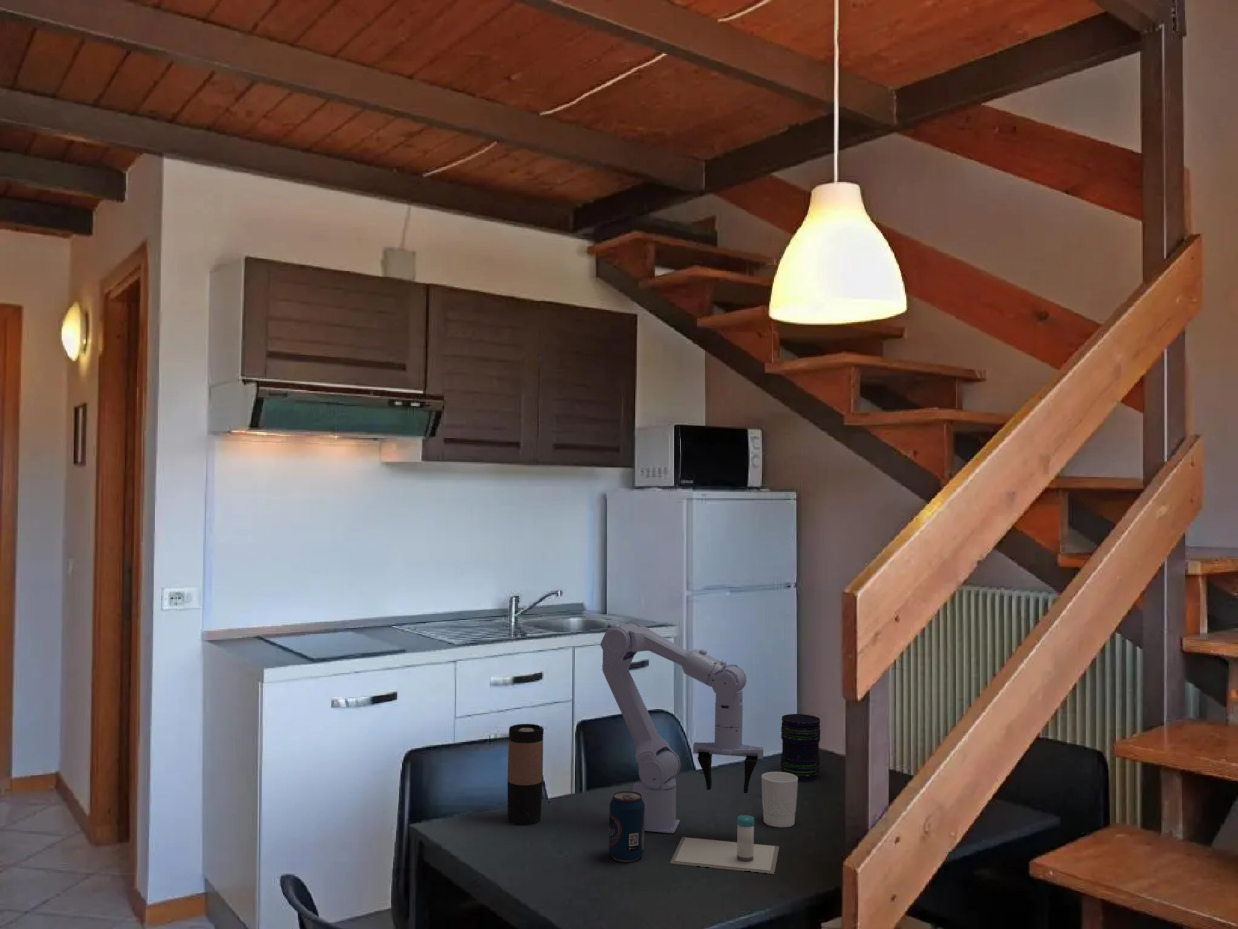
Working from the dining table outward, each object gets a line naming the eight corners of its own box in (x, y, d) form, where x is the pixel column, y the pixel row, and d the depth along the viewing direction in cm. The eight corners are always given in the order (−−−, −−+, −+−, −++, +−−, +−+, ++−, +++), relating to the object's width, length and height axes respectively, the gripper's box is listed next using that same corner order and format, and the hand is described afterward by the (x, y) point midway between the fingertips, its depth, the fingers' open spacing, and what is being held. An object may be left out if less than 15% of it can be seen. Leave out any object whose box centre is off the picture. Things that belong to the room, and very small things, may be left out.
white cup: (796, 830, 214) (797, 783, 214) (759, 827, 216) (760, 780, 216) (797, 818, 222) (798, 773, 222) (761, 815, 223) (762, 770, 224)
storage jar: (780, 781, 250) (781, 721, 250) (780, 770, 260) (781, 713, 260) (820, 784, 248) (821, 723, 249) (819, 773, 258) (820, 715, 258)
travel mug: (500, 823, 215) (502, 729, 215) (516, 812, 222) (518, 722, 222) (531, 828, 212) (533, 733, 212) (547, 817, 219) (549, 726, 220)
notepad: (669, 864, 193) (669, 861, 193) (682, 838, 208) (682, 836, 208) (774, 874, 189) (774, 872, 189) (779, 847, 203) (779, 845, 203)
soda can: (603, 852, 198) (604, 792, 199) (635, 848, 201) (636, 788, 201) (616, 865, 192) (618, 802, 192) (649, 860, 195) (650, 798, 195)
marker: (736, 861, 194) (736, 819, 194) (737, 855, 197) (738, 814, 198) (753, 862, 193) (753, 821, 194) (754, 856, 197) (754, 815, 197)
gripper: (691, 726, 206) (690, 792, 206) (761, 731, 203) (760, 799, 203) (696, 719, 213) (695, 783, 213) (764, 724, 210) (763, 789, 210)
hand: (727, 790), depth 208 cm, fingers open, 7 cm apart
